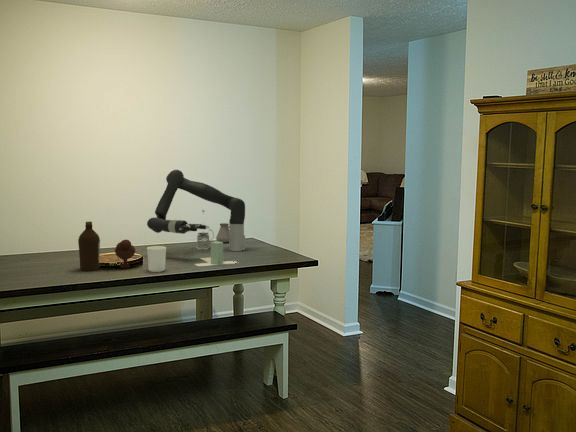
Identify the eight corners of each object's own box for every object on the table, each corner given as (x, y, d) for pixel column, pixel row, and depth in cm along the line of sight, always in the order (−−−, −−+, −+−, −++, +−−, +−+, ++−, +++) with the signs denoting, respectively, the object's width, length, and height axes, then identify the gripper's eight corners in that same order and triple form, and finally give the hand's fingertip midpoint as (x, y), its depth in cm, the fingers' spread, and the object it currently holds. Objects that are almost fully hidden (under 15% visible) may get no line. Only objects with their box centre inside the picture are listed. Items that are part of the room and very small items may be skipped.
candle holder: (168, 268, 300) (168, 246, 299) (162, 272, 290) (162, 249, 289) (150, 268, 301) (150, 245, 299) (144, 271, 291) (144, 248, 290)
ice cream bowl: (139, 265, 306) (139, 238, 304) (127, 269, 296) (127, 241, 294) (123, 264, 310) (122, 237, 308) (110, 268, 299) (110, 240, 297)
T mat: (185, 259, 326) (185, 259, 326) (224, 256, 337) (224, 256, 337) (198, 266, 307) (198, 266, 307) (239, 263, 318) (239, 263, 318)
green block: (215, 262, 319) (215, 241, 317) (223, 263, 316) (223, 242, 315) (210, 263, 314) (210, 242, 313) (218, 264, 312) (218, 243, 311)
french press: (195, 246, 369) (195, 209, 367) (213, 246, 371) (213, 209, 368) (195, 249, 360) (195, 210, 357) (213, 249, 361) (213, 210, 358)
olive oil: (81, 272, 288) (80, 223, 285) (77, 268, 297) (75, 221, 294) (102, 270, 293) (101, 222, 291) (97, 266, 302) (96, 220, 299)
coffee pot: (213, 241, 393) (213, 220, 391) (228, 240, 399) (228, 219, 397) (226, 246, 374) (226, 223, 373) (241, 245, 380) (242, 223, 379)
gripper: (170, 221, 319) (193, 223, 311) (185, 218, 331) (208, 220, 324) (170, 234, 320) (193, 236, 312) (185, 231, 332) (208, 233, 325)
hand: (201, 228), depth 318 cm, fingers open, 8 cm apart
